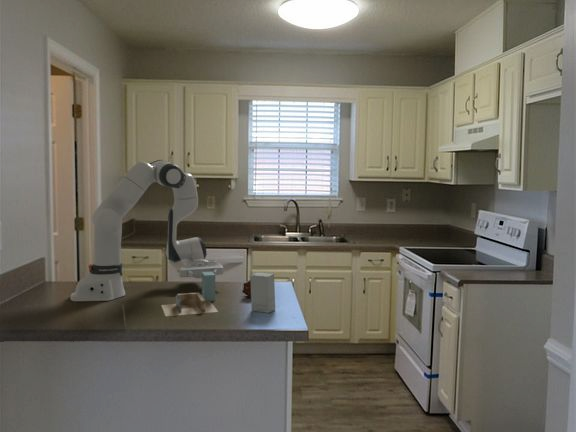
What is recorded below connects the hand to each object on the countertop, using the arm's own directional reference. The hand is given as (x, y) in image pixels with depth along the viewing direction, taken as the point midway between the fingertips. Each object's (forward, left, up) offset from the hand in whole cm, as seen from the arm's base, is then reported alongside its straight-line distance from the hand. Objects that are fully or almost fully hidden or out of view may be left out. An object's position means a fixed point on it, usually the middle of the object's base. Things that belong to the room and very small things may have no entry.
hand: (204, 274), depth 222 cm
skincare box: (+18, -32, -9) cm, 38 cm away
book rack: (-10, -24, -9) cm, 28 cm away
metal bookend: (-14, -24, -8) cm, 29 cm away
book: (0, -12, -9) cm, 15 cm away
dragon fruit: (+20, -10, -9) cm, 24 cm away
